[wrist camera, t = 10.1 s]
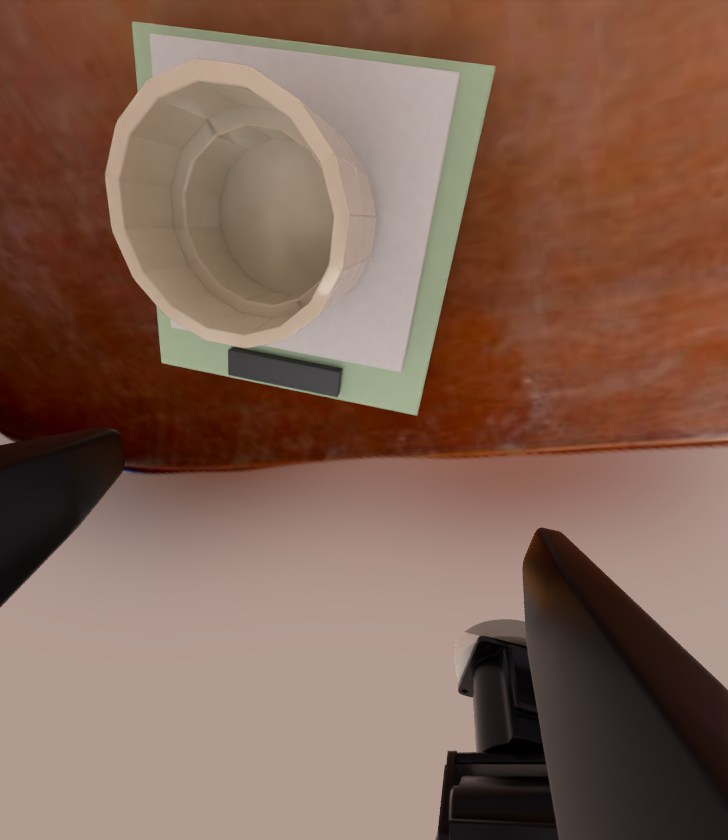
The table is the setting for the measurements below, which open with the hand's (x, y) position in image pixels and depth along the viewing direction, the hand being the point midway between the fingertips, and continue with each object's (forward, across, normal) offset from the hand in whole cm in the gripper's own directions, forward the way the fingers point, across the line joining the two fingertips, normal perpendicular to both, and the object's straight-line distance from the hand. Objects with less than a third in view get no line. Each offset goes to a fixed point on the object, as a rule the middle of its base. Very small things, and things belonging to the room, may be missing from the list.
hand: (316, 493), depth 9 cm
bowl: (+9, +4, -5) cm, 11 cm away
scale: (+11, +4, -4) cm, 13 cm away
